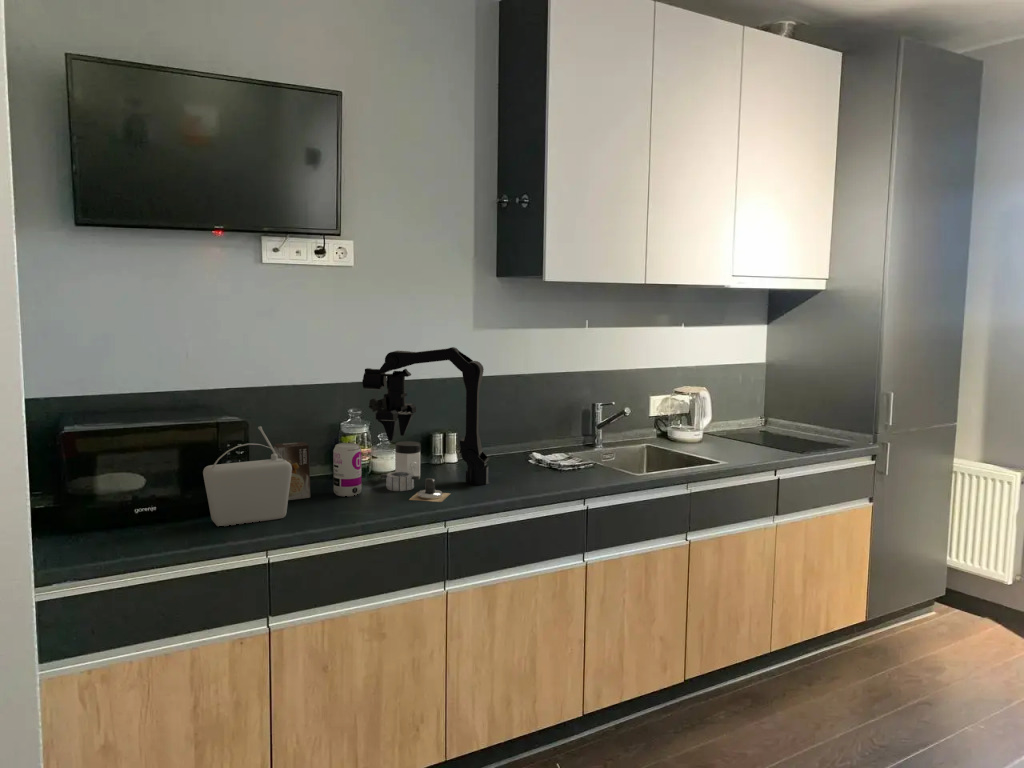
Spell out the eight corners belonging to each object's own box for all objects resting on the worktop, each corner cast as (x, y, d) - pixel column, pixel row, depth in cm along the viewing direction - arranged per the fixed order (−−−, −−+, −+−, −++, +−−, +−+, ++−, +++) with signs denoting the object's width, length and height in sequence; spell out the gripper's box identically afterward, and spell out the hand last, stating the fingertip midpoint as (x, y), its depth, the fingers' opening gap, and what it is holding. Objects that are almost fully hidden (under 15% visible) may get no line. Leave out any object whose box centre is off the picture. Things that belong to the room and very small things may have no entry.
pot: (422, 488, 248) (422, 472, 248) (414, 494, 240) (414, 478, 239) (385, 485, 250) (385, 470, 250) (376, 492, 242) (376, 476, 242)
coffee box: (305, 493, 240) (305, 441, 238) (310, 498, 234) (310, 445, 232) (274, 496, 235) (273, 443, 233) (279, 501, 230) (278, 447, 228)
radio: (284, 510, 221) (283, 422, 218) (293, 517, 214) (292, 426, 211) (202, 521, 209) (199, 428, 206) (209, 529, 202) (206, 433, 199)
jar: (400, 483, 253) (400, 447, 252) (390, 478, 260) (390, 442, 259) (425, 480, 258) (426, 444, 257) (414, 475, 265) (414, 440, 264)
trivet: (450, 495, 239) (450, 493, 239) (441, 504, 230) (441, 501, 229) (418, 493, 241) (418, 491, 241) (408, 502, 231) (408, 499, 231)
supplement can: (366, 491, 242) (366, 443, 241) (352, 498, 235) (352, 448, 233) (343, 489, 245) (342, 441, 243) (328, 495, 237) (328, 446, 236)
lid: (444, 494, 238) (445, 477, 238) (438, 500, 231) (438, 482, 230) (421, 492, 239) (422, 475, 239) (414, 498, 232) (414, 481, 232)
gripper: (385, 385, 264) (386, 431, 266) (359, 392, 246) (360, 441, 248) (416, 387, 261) (416, 433, 263) (392, 394, 243) (392, 443, 245)
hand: (396, 438), depth 255 cm, fingers open, 9 cm apart
